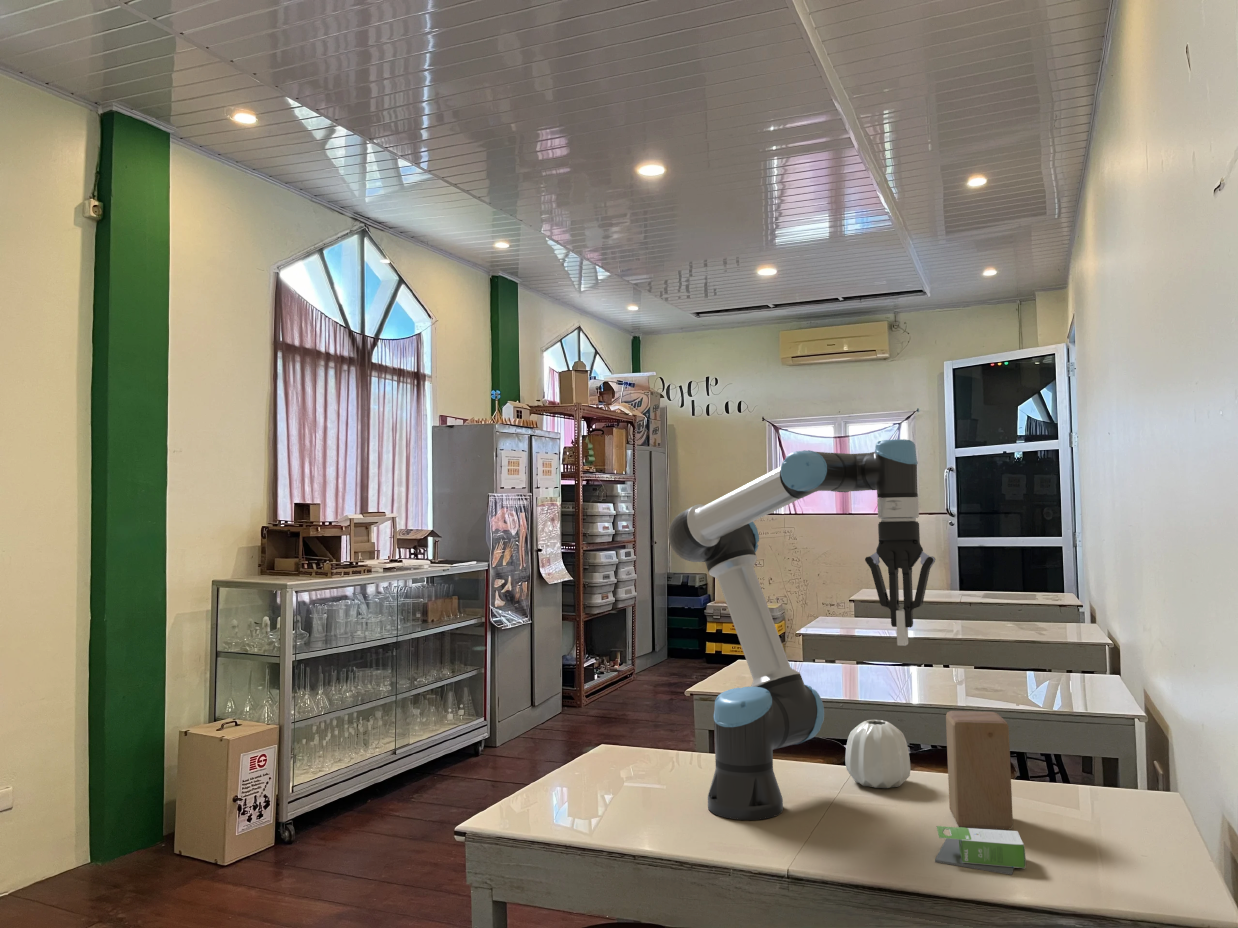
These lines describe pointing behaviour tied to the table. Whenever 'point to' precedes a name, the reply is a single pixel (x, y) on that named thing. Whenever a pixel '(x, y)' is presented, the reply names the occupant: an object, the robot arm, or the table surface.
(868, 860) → the table surface
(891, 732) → the vase
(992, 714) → the wooden block
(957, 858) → the mat
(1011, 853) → the ink box
